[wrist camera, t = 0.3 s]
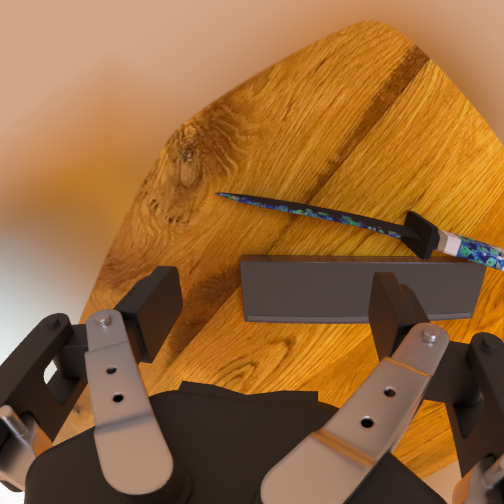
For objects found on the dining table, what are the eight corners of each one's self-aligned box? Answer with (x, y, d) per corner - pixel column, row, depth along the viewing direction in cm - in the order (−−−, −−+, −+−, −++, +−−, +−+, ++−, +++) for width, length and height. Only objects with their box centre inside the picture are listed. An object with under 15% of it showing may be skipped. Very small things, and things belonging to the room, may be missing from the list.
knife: (506, 246, 25) (525, 263, 21) (496, 271, 26) (513, 291, 22) (229, 161, 30) (212, 166, 25) (224, 191, 31) (207, 201, 27)
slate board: (242, 254, 31) (239, 261, 30) (481, 256, 27) (488, 262, 26) (246, 313, 34) (244, 322, 32) (466, 311, 30) (471, 318, 28)
